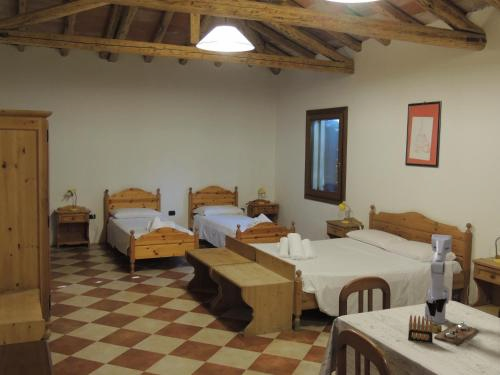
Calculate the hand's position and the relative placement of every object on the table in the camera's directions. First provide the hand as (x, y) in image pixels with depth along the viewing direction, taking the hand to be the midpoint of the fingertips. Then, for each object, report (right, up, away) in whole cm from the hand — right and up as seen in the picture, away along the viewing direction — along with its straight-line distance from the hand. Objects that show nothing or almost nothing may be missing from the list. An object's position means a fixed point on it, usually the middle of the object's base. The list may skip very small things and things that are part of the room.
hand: (435, 314), depth 244 cm
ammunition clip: (-12, -10, -12) cm, 19 cm away
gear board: (+8, -9, -4) cm, 13 cm away
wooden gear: (0, -8, +1) cm, 8 cm away
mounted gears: (+8, -8, -4) cm, 12 cm away
